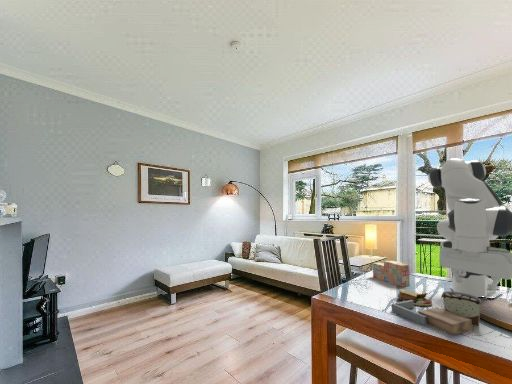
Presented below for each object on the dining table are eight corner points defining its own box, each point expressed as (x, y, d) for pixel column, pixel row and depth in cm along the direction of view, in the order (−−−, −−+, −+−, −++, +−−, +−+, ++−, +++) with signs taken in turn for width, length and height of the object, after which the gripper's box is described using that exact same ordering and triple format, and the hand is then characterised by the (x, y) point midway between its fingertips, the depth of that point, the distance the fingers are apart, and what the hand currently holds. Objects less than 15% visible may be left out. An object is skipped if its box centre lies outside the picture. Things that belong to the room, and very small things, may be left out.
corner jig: (411, 306, 108) (411, 299, 109) (445, 320, 95) (445, 312, 95) (391, 310, 104) (391, 303, 104) (424, 325, 91) (424, 317, 91)
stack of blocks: (372, 277, 157) (372, 258, 158) (380, 276, 159) (379, 257, 160) (402, 287, 137) (401, 265, 138) (410, 286, 139) (409, 264, 140)
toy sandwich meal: (429, 309, 106) (429, 298, 106) (395, 301, 115) (394, 291, 115) (434, 302, 115) (433, 292, 115) (402, 295, 124) (401, 285, 124)
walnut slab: (437, 317, 99) (436, 307, 99) (472, 330, 87) (471, 319, 88) (418, 321, 95) (418, 311, 95) (453, 336, 83) (452, 324, 84)
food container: (483, 322, 93) (481, 295, 94) (484, 328, 89) (482, 300, 89) (443, 313, 101) (442, 289, 102) (442, 318, 97) (440, 292, 98)
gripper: (518, 248, 75) (522, 294, 74) (446, 241, 94) (448, 277, 93) (506, 250, 73) (510, 297, 72) (435, 242, 92) (437, 279, 91)
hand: (474, 286), depth 82 cm, fingers open, 8 cm apart
